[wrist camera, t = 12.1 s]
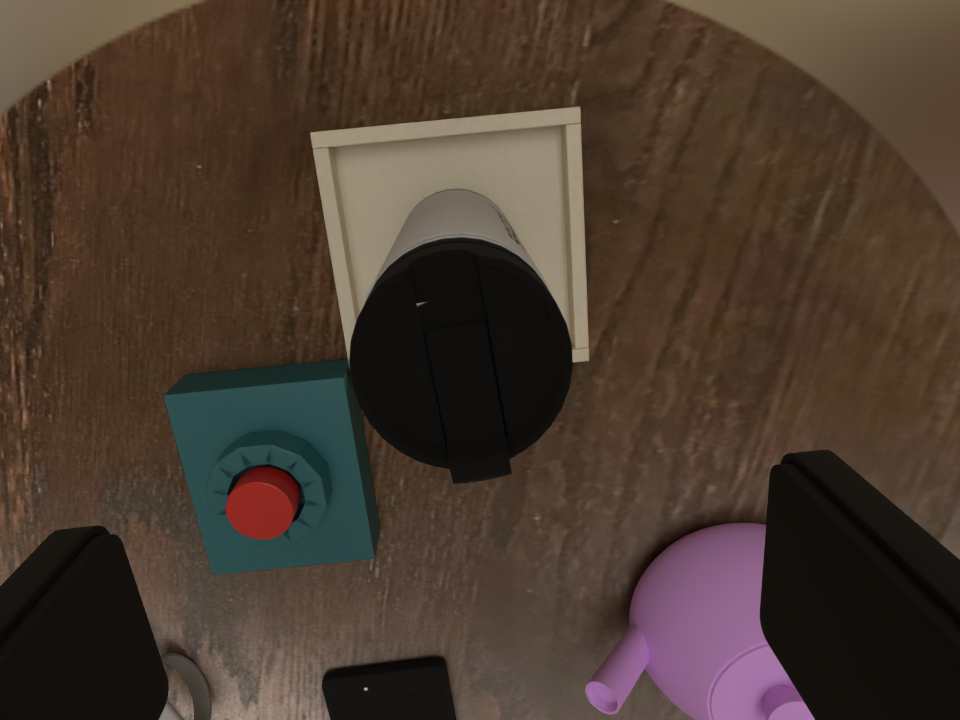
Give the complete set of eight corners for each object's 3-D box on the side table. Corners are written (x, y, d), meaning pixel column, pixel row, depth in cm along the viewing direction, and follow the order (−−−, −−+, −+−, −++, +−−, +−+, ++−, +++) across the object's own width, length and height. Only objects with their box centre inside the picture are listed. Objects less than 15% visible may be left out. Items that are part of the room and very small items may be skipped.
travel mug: (414, 315, 37) (375, 504, 18) (389, 199, 35) (315, 279, 16) (521, 296, 37) (593, 467, 18) (503, 178, 35) (563, 235, 16)
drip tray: (318, 131, 35) (309, 132, 32) (572, 107, 35) (580, 106, 33) (357, 370, 39) (352, 384, 37) (582, 348, 39) (589, 361, 37)
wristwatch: (148, 645, 45) (112, 705, 41) (182, 631, 45) (150, 689, 40) (197, 706, 47) (168, 769, 43) (230, 692, 47) (205, 755, 42)
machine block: (185, 374, 39) (148, 408, 34) (352, 358, 39) (338, 389, 34) (229, 544, 43) (201, 595, 38) (380, 528, 43) (371, 578, 38)
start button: (229, 469, 36) (218, 485, 34) (294, 462, 36) (286, 478, 34) (243, 524, 37) (233, 543, 35) (305, 518, 37) (299, 536, 35)
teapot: (558, 531, 43) (589, 651, 33) (855, 490, 43) (976, 599, 33) (575, 688, 48) (607, 835, 38) (843, 652, 48) (946, 790, 38)
